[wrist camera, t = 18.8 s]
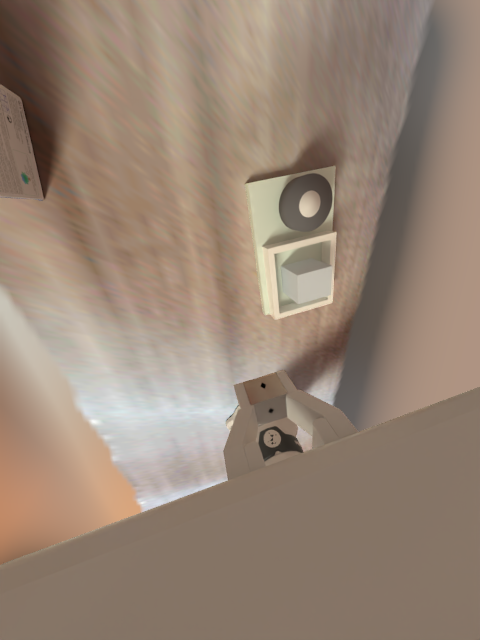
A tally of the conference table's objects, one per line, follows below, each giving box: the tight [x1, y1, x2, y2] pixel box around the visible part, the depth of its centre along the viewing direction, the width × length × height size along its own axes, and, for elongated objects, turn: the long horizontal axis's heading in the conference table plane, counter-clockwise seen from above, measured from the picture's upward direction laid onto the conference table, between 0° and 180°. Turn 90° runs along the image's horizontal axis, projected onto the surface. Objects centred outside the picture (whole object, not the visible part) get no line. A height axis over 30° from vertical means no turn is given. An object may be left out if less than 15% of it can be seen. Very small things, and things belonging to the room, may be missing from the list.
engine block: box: [281, 258, 332, 304], centre depth 35 cm, size 5×6×6 cm
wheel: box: [279, 173, 333, 232], centre depth 29 cm, size 7×7×3 cm
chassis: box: [245, 166, 337, 320], centre depth 35 cm, size 22×14×4 cm, turn 11°
